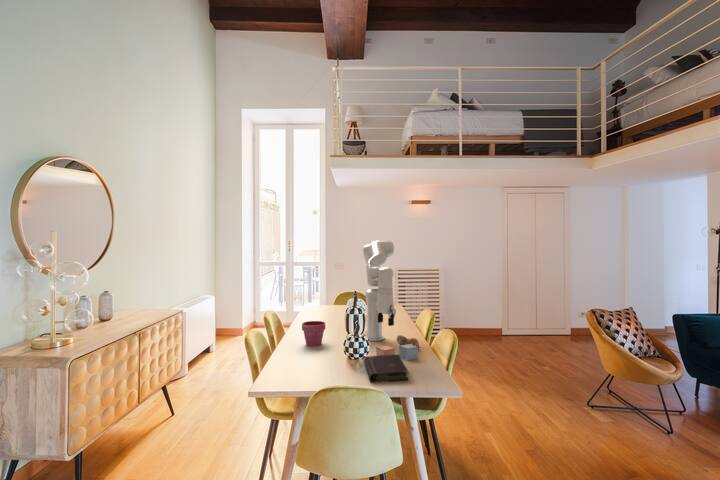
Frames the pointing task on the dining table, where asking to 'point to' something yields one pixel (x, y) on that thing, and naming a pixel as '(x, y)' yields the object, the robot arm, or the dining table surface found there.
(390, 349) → the reddish brown cube
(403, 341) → the lion figurine
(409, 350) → the blue cube
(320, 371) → the dining table surface
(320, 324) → the plant pot
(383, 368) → the diary
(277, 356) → the dining table surface
